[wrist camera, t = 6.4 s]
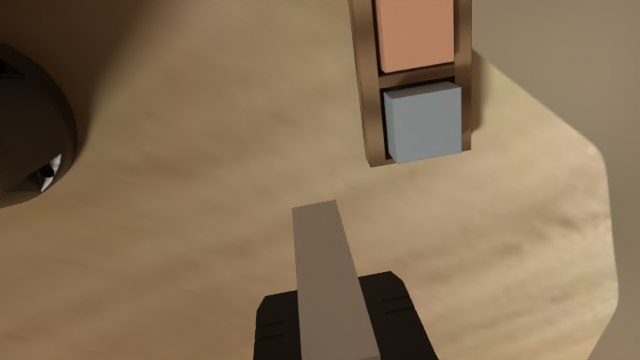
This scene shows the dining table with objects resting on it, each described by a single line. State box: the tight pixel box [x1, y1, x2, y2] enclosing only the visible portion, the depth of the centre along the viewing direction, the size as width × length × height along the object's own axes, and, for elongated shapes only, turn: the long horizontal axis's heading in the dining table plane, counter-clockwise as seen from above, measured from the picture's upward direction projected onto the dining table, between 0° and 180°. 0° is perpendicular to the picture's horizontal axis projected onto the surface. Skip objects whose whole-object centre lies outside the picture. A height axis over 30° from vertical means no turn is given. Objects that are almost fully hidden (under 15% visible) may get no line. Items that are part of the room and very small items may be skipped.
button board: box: [348, 0, 472, 167], centre depth 35 cm, size 24×10×2 cm, turn 9°
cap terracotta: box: [372, 0, 454, 73], centre depth 35 cm, size 6×6×3 cm
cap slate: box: [384, 81, 461, 164], centre depth 37 cm, size 6×6×3 cm
